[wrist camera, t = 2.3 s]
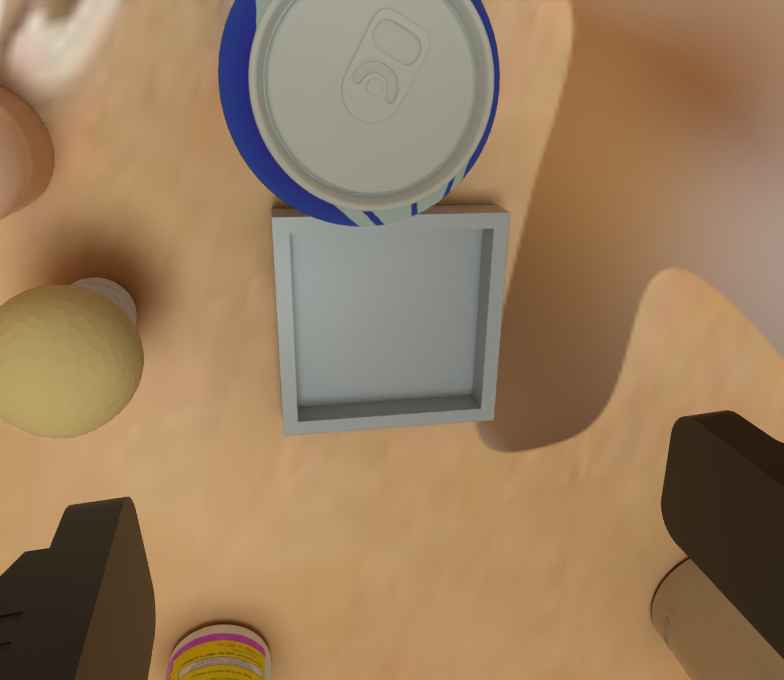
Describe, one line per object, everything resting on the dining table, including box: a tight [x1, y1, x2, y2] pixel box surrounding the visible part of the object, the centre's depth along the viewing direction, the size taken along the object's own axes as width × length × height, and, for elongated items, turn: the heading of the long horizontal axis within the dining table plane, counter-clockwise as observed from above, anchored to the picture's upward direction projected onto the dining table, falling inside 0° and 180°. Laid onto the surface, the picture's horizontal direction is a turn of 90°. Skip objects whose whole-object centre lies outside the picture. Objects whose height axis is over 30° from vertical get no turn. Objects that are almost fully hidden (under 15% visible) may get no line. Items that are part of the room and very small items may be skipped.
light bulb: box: [0, 277, 144, 438], centre depth 29 cm, size 6×6×10 cm
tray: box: [272, 204, 510, 436], centre depth 36 cm, size 12×12×2 cm
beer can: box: [218, 0, 500, 227], centre depth 25 cm, size 8×8×16 cm
